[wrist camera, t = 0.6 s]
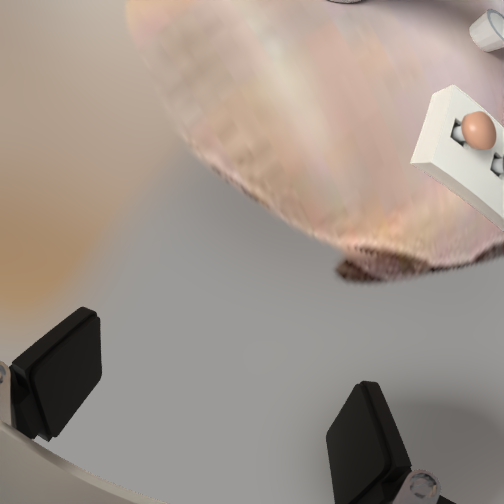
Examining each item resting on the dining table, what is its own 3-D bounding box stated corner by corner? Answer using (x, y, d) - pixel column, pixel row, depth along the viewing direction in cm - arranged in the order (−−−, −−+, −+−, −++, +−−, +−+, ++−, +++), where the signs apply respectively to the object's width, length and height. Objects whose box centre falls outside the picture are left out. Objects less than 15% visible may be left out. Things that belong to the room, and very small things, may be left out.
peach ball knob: (444, 112, 28) (474, 103, 22) (467, 130, 29) (499, 125, 22) (436, 140, 30) (467, 135, 23) (459, 157, 30) (492, 156, 23)
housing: (432, 93, 31) (453, 84, 25) (520, 169, 32) (542, 171, 26) (409, 163, 34) (430, 162, 28) (502, 230, 35) (524, 238, 29)
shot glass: (482, 22, 25) (502, 10, 19) (499, 55, 27) (521, 45, 20) (460, 21, 27) (480, 7, 20) (478, 55, 28) (501, 44, 21)
